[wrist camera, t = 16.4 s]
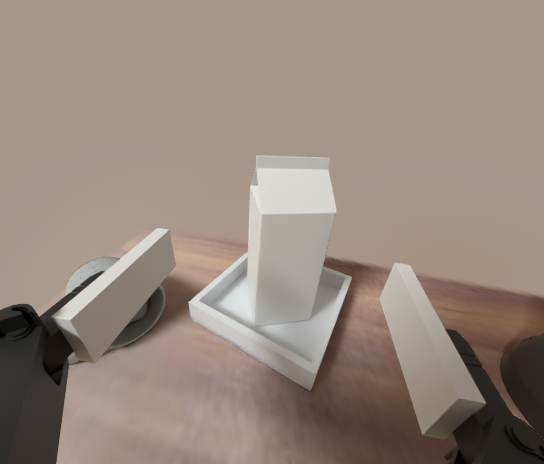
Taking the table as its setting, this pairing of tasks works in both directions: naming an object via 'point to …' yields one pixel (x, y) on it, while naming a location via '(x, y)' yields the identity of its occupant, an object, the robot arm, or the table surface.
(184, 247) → the table surface
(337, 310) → the tray
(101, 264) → the ceramic mug
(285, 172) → the milk carton
